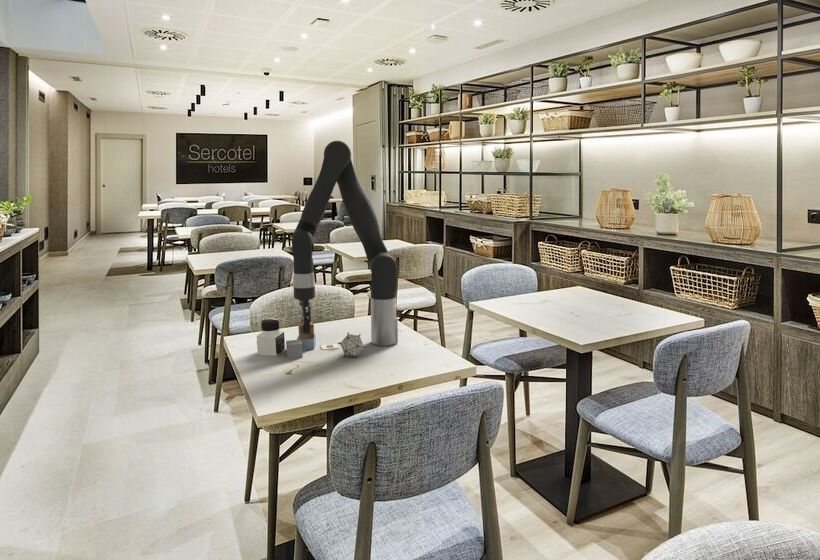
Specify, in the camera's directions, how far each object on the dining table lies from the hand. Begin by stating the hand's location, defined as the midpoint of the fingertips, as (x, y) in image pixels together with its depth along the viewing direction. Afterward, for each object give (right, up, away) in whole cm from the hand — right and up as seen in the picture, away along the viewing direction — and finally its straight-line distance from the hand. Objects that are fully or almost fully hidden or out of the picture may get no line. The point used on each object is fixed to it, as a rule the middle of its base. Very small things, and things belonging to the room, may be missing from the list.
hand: (305, 330), depth 203 cm
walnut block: (0, -2, 0) cm, 2 cm away
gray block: (-2, -8, -9) cm, 12 cm away
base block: (0, -6, +1) cm, 6 cm away
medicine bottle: (-11, -8, -5) cm, 14 cm away
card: (+8, -6, +1) cm, 11 cm away
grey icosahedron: (+18, -8, -9) cm, 21 cm away
